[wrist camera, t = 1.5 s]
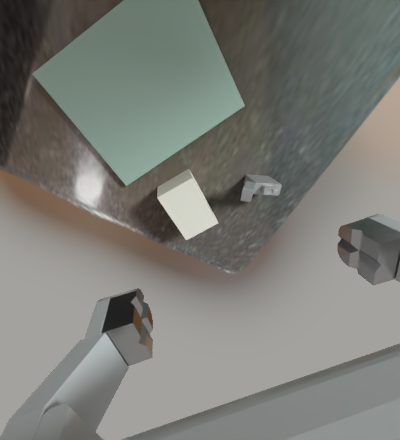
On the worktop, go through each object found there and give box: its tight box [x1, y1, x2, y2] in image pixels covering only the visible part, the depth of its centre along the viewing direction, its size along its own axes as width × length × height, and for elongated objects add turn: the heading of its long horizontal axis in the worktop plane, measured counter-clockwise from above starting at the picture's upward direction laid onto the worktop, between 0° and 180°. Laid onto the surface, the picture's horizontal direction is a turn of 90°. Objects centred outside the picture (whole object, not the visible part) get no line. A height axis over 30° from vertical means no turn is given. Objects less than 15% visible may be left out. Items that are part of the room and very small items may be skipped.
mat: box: [32, 0, 245, 186], centre depth 28 cm, size 20×16×1 cm
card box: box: [157, 169, 218, 240], centre depth 33 cm, size 6×8×5 cm
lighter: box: [241, 175, 282, 203], centre depth 32 cm, size 7×2×8 cm, turn 84°
